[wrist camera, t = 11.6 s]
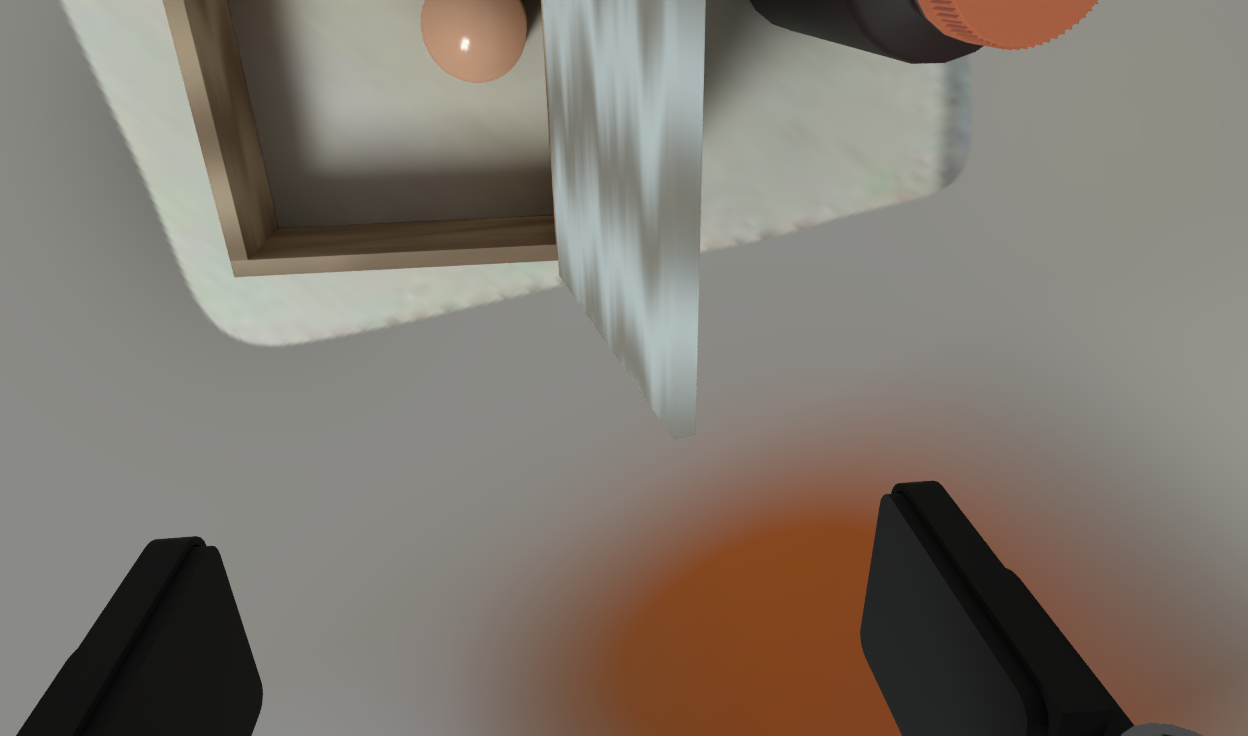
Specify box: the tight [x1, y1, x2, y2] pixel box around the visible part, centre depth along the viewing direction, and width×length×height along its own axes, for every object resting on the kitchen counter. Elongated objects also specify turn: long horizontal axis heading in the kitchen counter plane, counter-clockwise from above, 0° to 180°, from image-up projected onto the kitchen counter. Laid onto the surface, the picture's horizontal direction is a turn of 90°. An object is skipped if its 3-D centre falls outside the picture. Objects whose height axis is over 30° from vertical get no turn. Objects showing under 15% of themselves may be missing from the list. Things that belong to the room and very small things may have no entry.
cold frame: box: [163, 0, 706, 439], centre depth 30 cm, size 14×19×22 cm
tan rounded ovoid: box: [421, 0, 527, 83], centre depth 36 cm, size 4×4×5 cm
